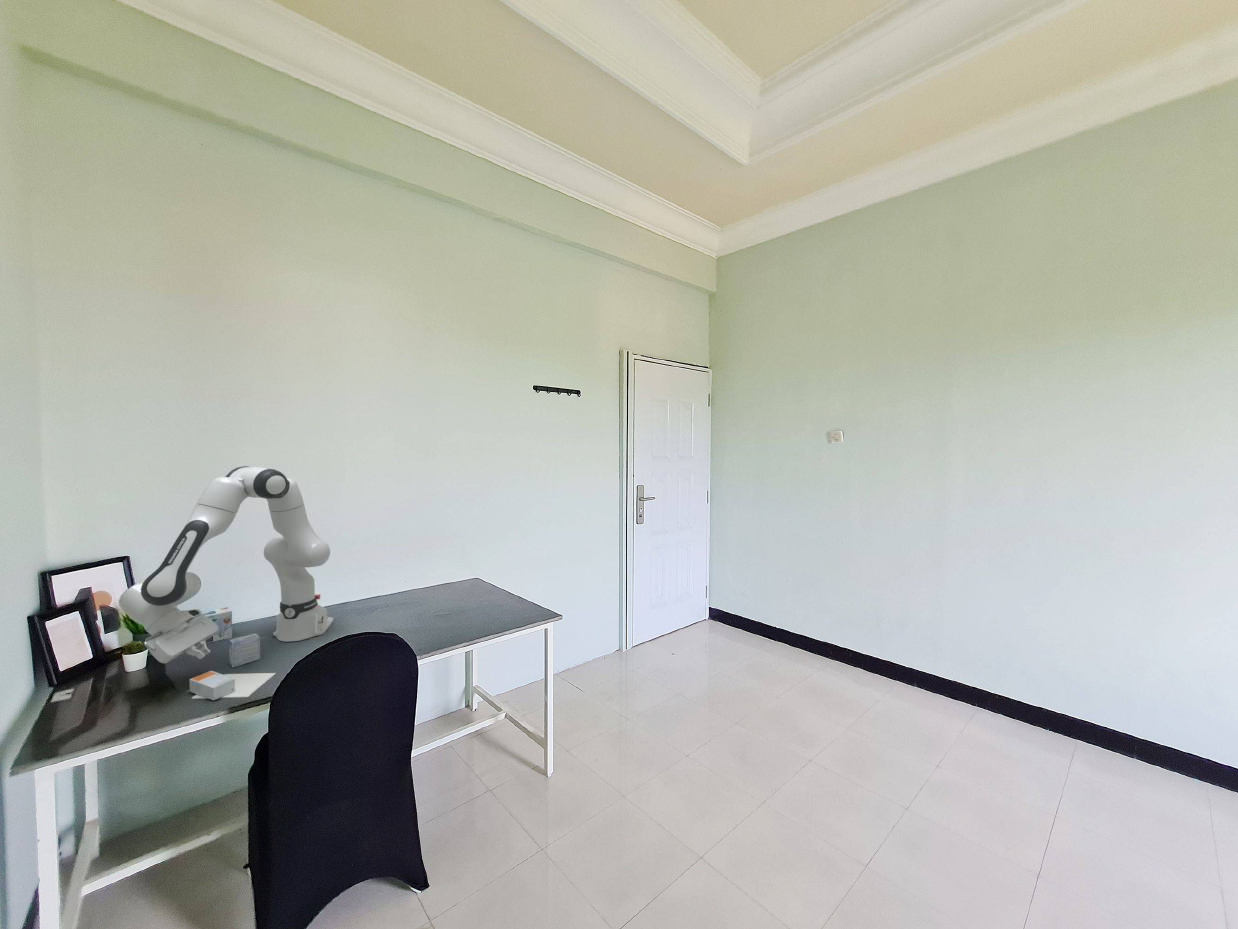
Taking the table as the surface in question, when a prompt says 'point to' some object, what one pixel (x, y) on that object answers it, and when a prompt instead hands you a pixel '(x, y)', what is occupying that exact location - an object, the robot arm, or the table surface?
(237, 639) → the medicine box
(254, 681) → the off-white mat
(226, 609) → the light bulb box
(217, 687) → the skincare box
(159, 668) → the table surface
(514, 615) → the table surface
